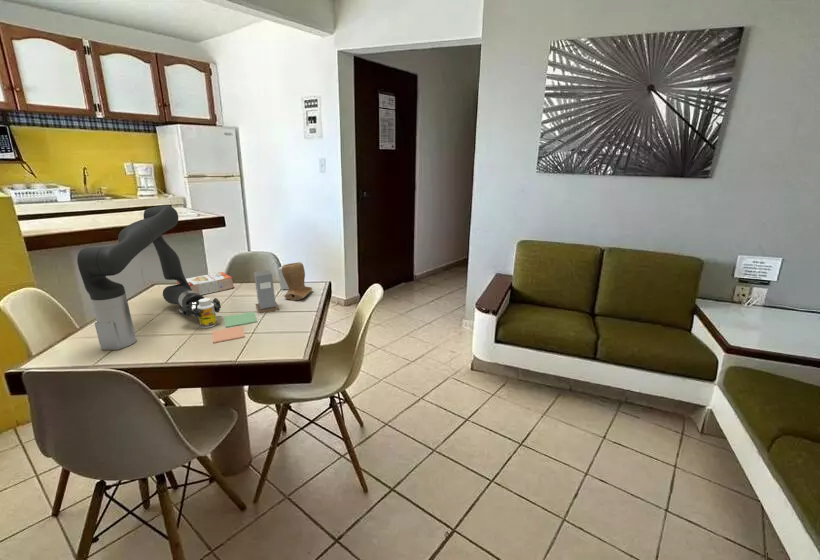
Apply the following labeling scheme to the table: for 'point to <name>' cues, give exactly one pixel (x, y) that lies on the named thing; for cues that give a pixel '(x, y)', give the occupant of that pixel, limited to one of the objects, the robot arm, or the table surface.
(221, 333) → the terracotta pad
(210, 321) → the supplement bottle
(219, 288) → the cracker box
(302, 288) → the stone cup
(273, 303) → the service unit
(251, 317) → the green pad
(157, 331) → the table surface
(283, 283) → the small box
